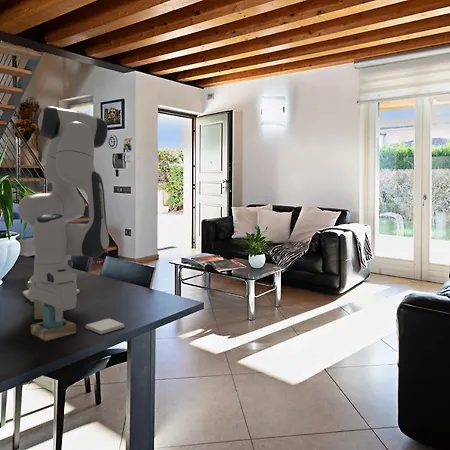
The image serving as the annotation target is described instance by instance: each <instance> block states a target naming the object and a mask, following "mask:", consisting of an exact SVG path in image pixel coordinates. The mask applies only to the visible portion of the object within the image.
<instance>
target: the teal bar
mask: <svg viewBox="0 0 450 450" xmlns="http://www.w3.org/2000/svg"><path fill="white" fill-rule="evenodd" d="M42 307H43V319H42V322H43V327H44V328H46V329H52V328H56V327H60V326H63V319H64V313H63V314H62V321H60V322H56V321H54V318H53V315H55V312H56V310H55V307H53V306H51V305H45V306H42Z"/></svg>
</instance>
